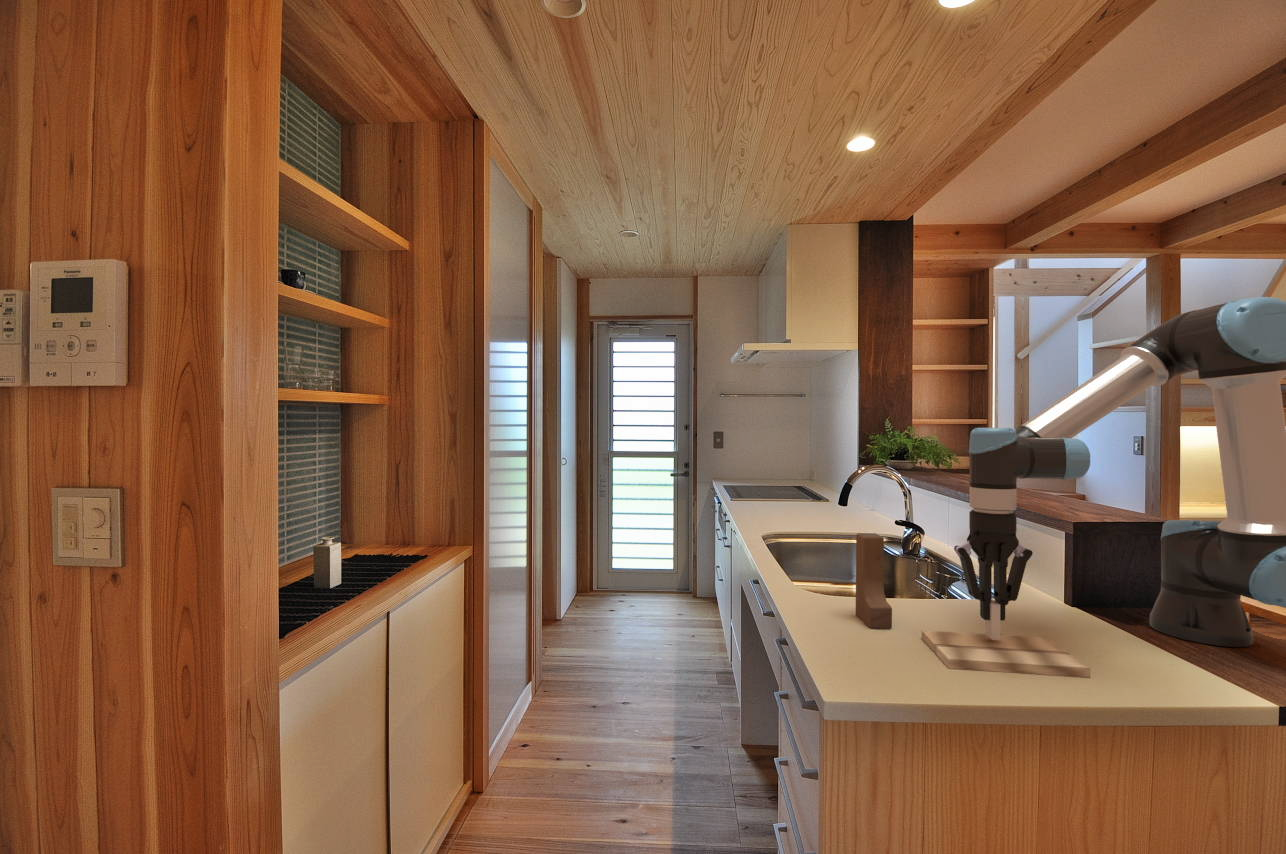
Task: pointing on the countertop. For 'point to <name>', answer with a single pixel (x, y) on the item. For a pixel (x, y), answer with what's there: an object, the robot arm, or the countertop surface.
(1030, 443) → the robot arm
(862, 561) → the wooden block
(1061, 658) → the laid board
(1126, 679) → the countertop surface
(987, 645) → the board
